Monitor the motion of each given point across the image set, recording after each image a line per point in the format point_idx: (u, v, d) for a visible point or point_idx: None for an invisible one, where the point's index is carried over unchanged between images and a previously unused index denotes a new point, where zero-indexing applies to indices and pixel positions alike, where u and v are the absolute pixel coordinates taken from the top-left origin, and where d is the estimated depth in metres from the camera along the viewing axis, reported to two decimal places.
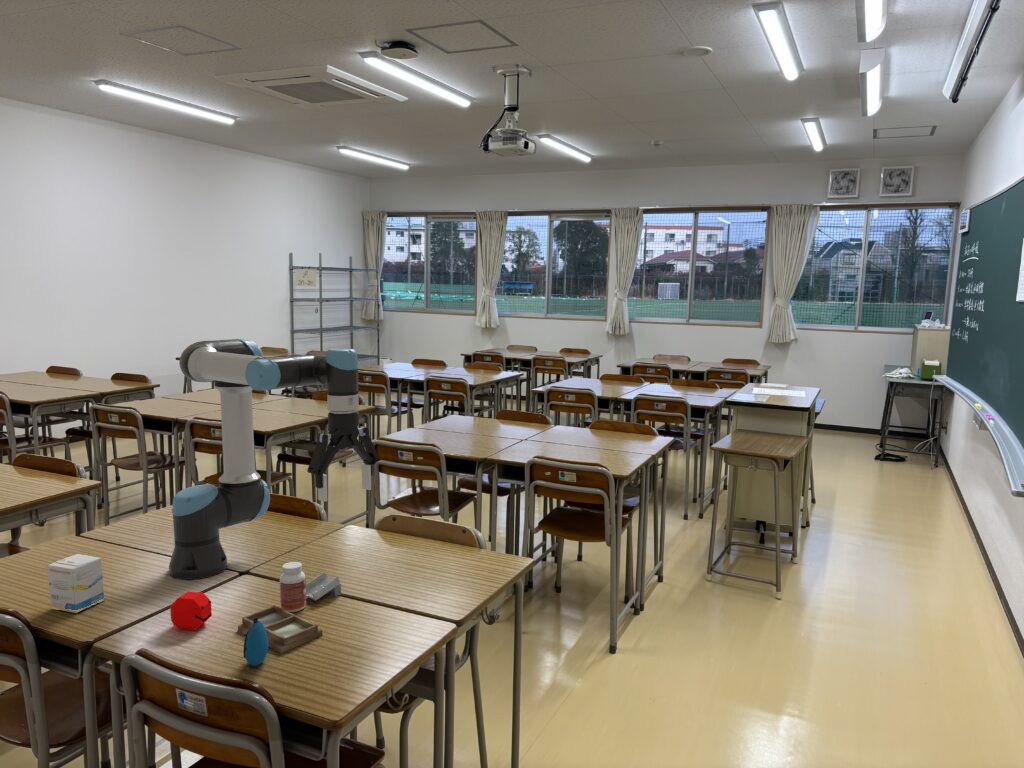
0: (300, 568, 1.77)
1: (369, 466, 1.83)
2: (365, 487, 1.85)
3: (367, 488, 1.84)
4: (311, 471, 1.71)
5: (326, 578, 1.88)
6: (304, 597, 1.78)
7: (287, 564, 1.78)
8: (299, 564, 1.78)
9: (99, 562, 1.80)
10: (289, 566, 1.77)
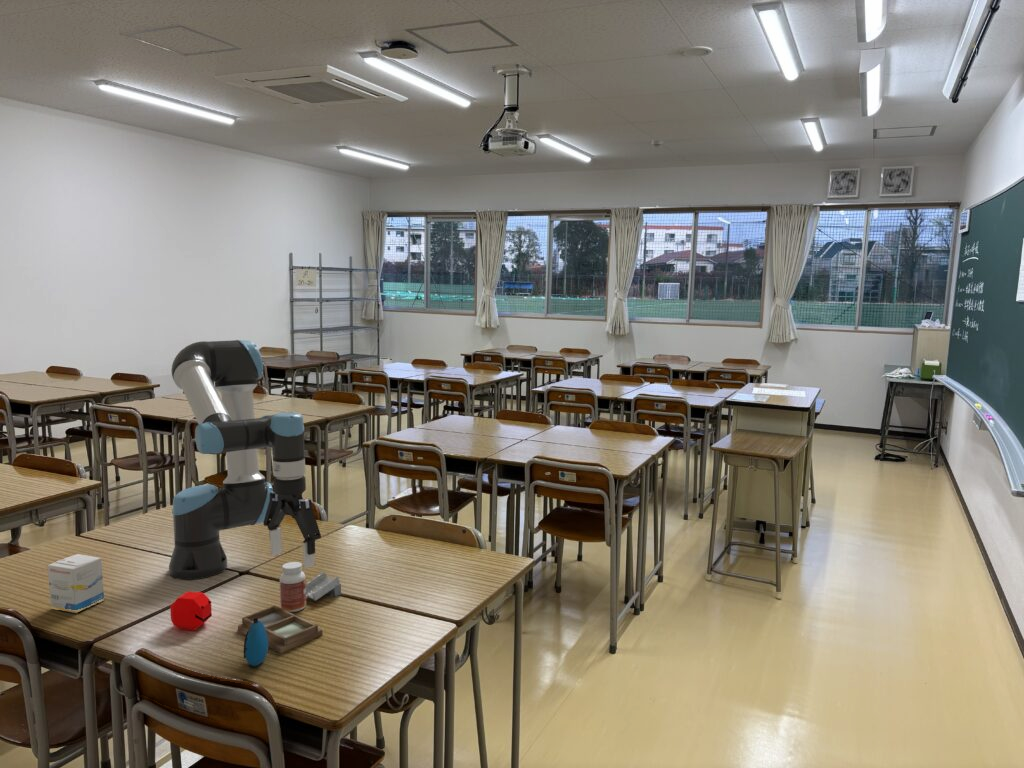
0: (300, 568, 1.77)
1: (303, 543, 1.71)
2: None
3: None
4: None
5: (326, 578, 1.88)
6: (304, 597, 1.78)
7: (287, 564, 1.78)
8: (299, 564, 1.78)
9: (99, 562, 1.80)
10: (289, 566, 1.77)
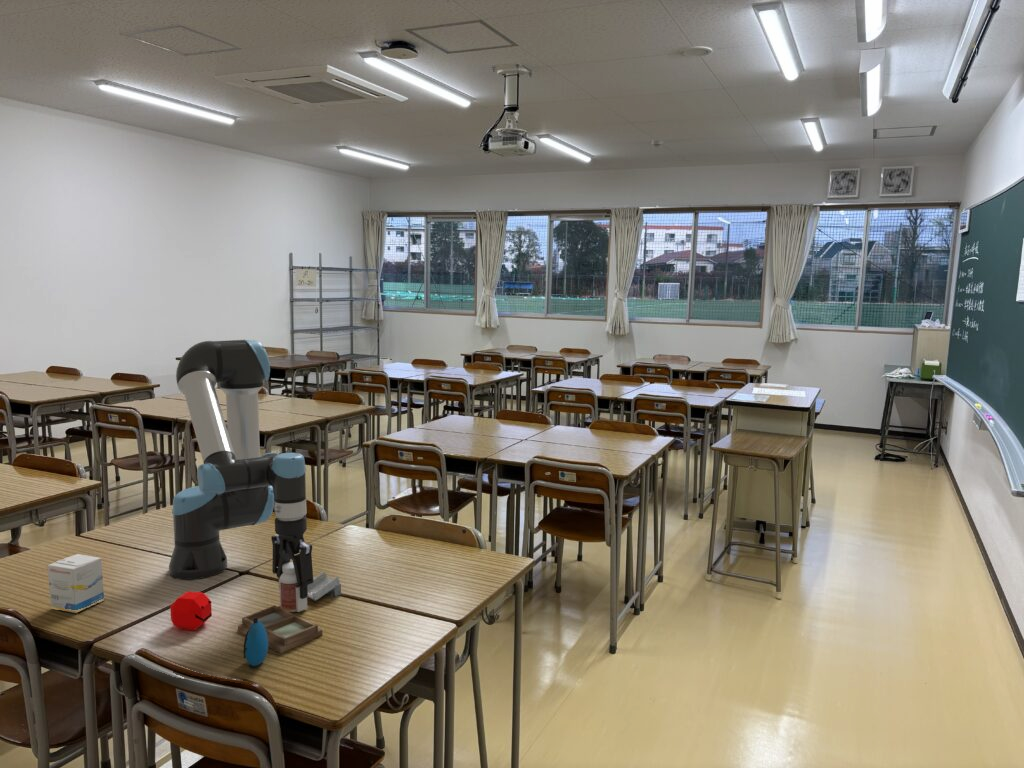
0: None
1: (296, 587, 1.75)
2: None
3: None
4: None
5: (326, 578, 1.88)
6: None
7: (287, 564, 1.78)
8: None
9: (99, 562, 1.80)
10: (289, 566, 1.77)
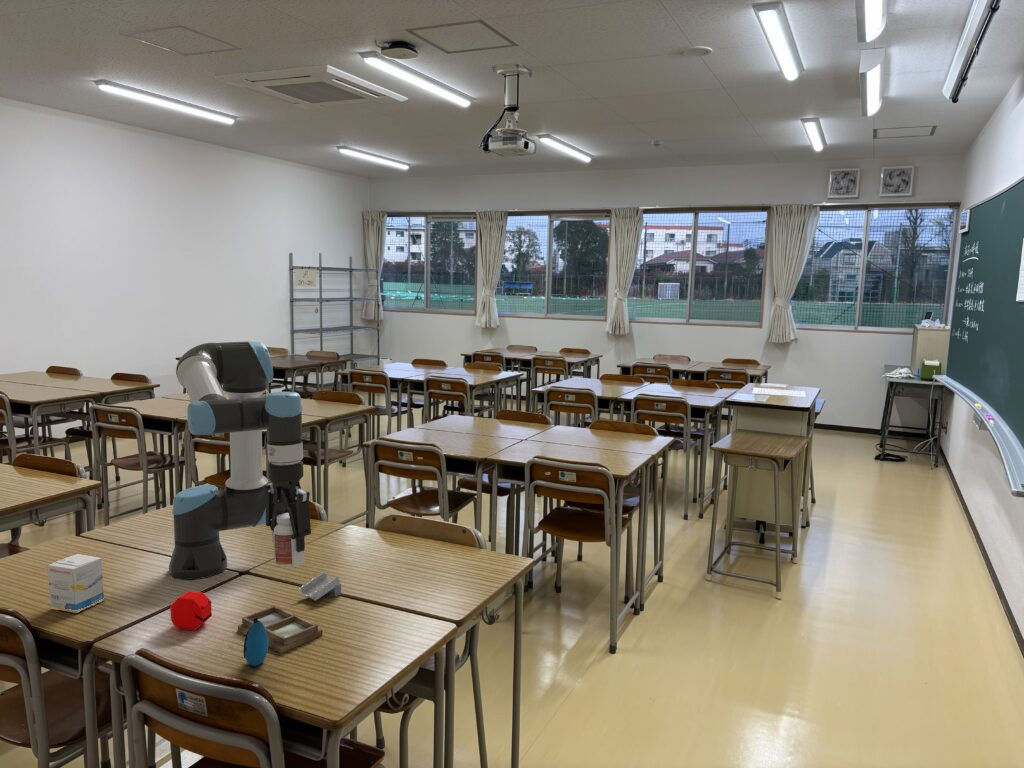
0: None
1: (292, 539, 1.58)
2: None
3: None
4: None
5: (326, 578, 1.88)
6: None
7: (282, 515, 1.62)
8: None
9: (99, 562, 1.80)
10: (284, 516, 1.60)
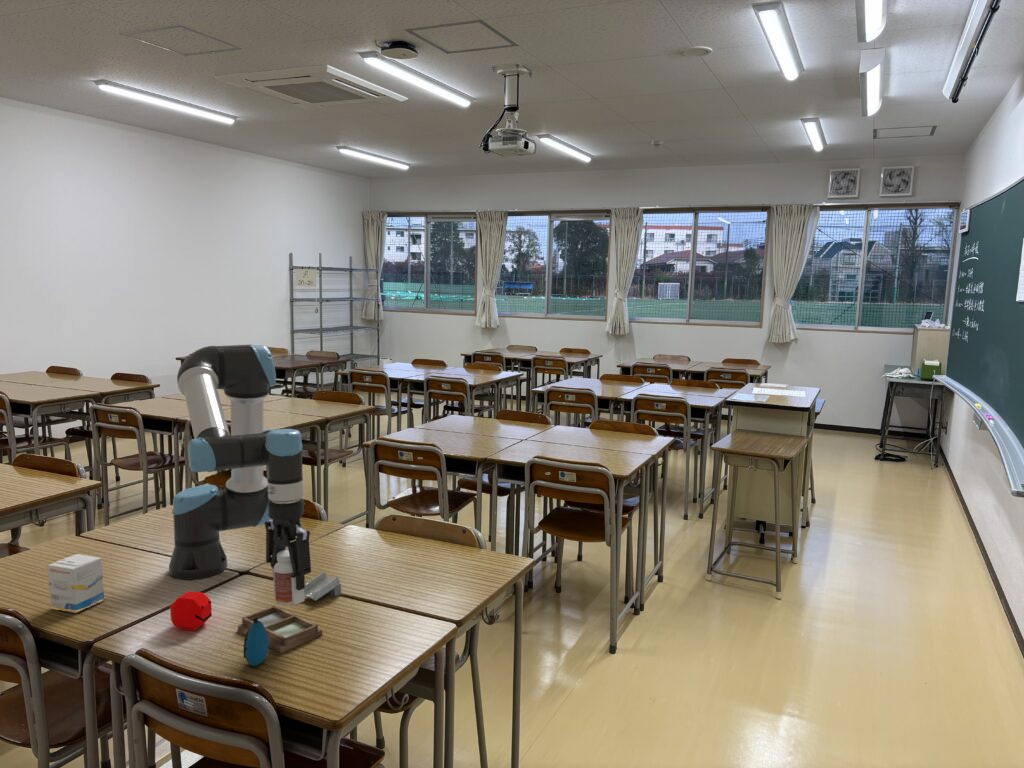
0: None
1: (292, 577, 1.58)
2: None
3: None
4: None
5: (326, 578, 1.88)
6: None
7: (282, 552, 1.61)
8: None
9: (99, 562, 1.80)
10: (284, 554, 1.60)
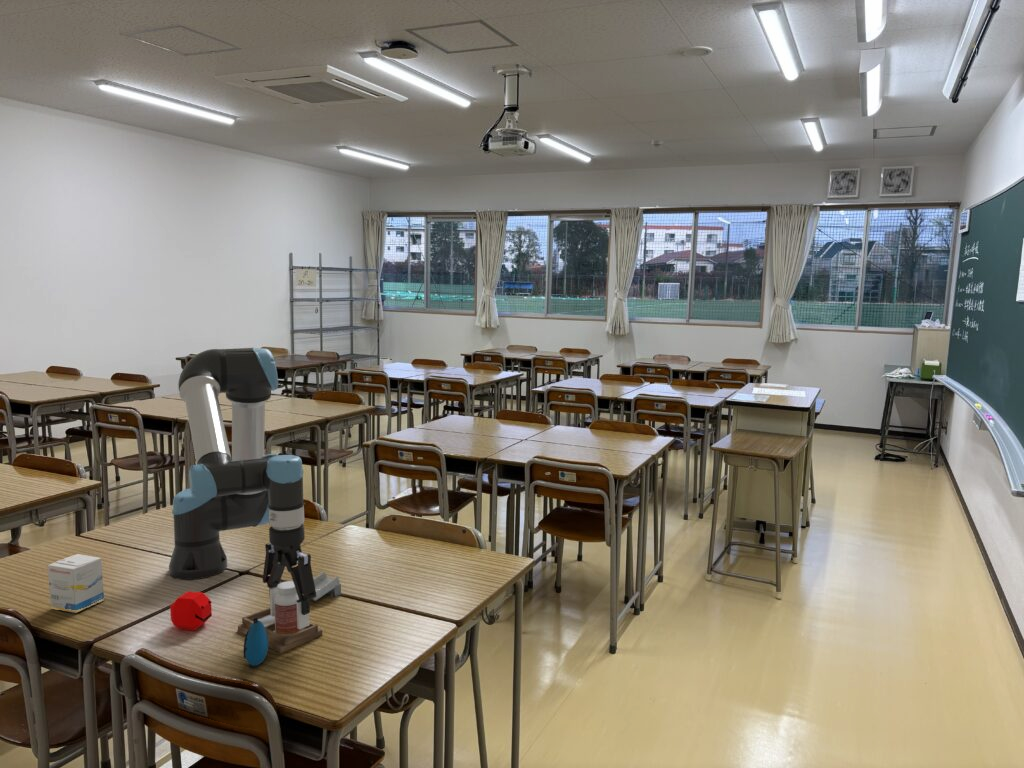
0: None
1: (297, 602, 1.58)
2: None
3: None
4: None
5: (326, 578, 1.88)
6: None
7: (283, 584, 1.62)
8: None
9: (99, 562, 1.80)
10: (284, 585, 1.61)
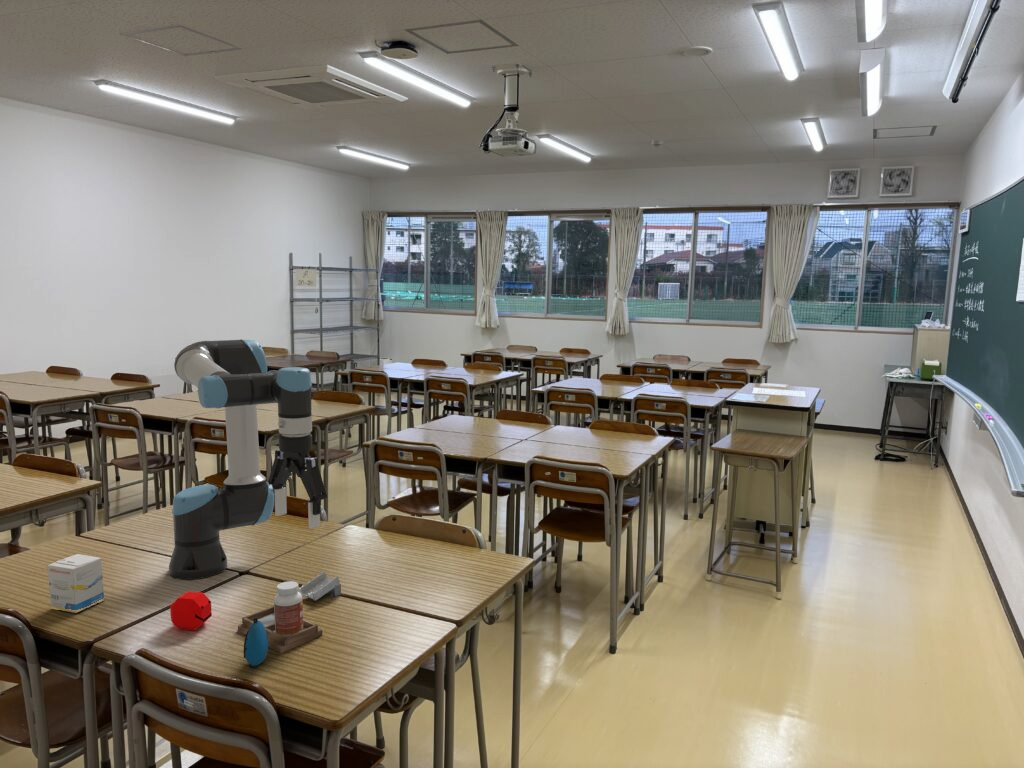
0: (296, 589, 1.61)
1: (309, 503, 1.65)
2: None
3: None
4: None
5: (326, 578, 1.88)
6: (301, 620, 1.62)
7: (282, 584, 1.62)
8: (295, 584, 1.62)
9: (99, 562, 1.80)
10: (284, 586, 1.61)
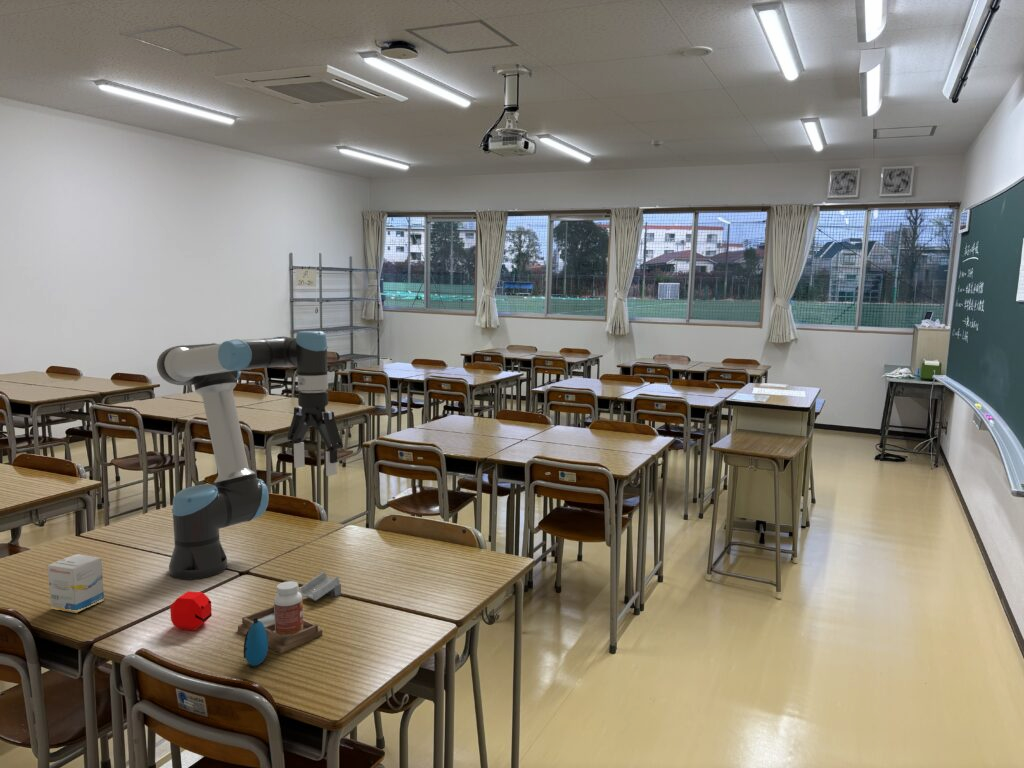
0: (296, 589, 1.61)
1: (326, 452, 1.82)
2: None
3: None
4: None
5: (326, 578, 1.88)
6: (301, 620, 1.62)
7: (282, 584, 1.62)
8: (295, 584, 1.62)
9: (99, 562, 1.80)
10: (284, 586, 1.61)
